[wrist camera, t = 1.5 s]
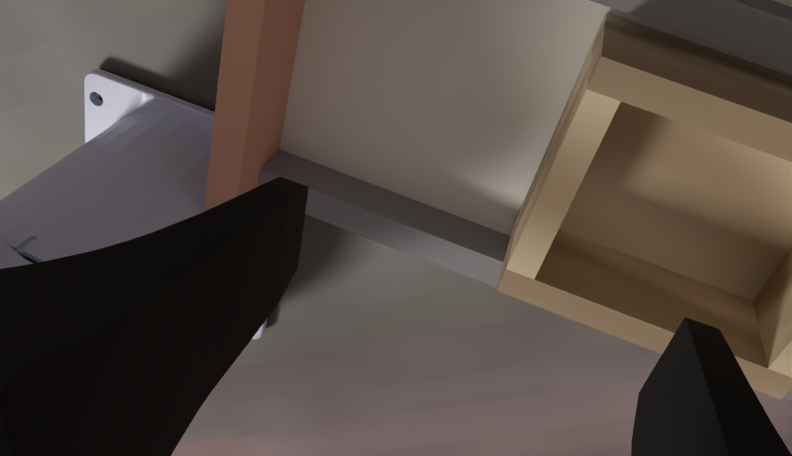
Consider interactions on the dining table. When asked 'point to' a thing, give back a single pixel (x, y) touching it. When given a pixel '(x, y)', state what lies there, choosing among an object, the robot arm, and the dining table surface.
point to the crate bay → (429, 105)
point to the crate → (666, 201)
